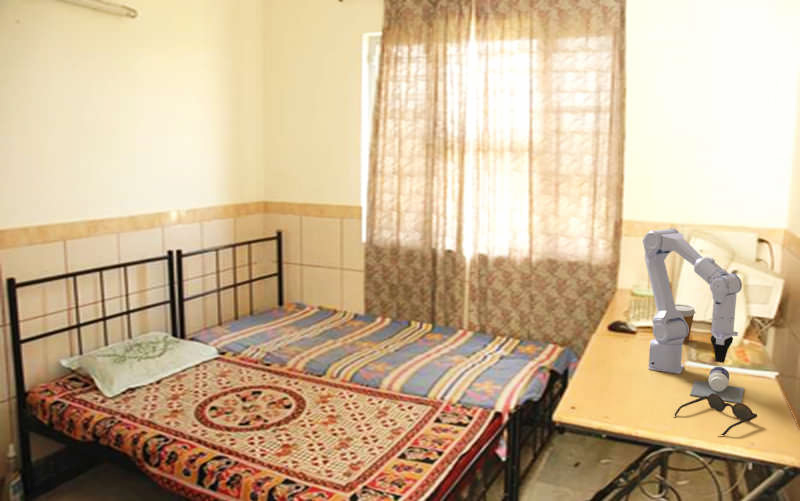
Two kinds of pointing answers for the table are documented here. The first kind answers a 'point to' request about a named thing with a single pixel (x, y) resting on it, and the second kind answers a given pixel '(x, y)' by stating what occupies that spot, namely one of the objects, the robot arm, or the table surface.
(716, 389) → the pill bottle
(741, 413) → the eyeglasses
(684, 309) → the disposable coffee cup
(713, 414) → the table surface
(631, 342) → the table surface
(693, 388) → the desk mat
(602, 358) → the table surface
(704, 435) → the table surface
